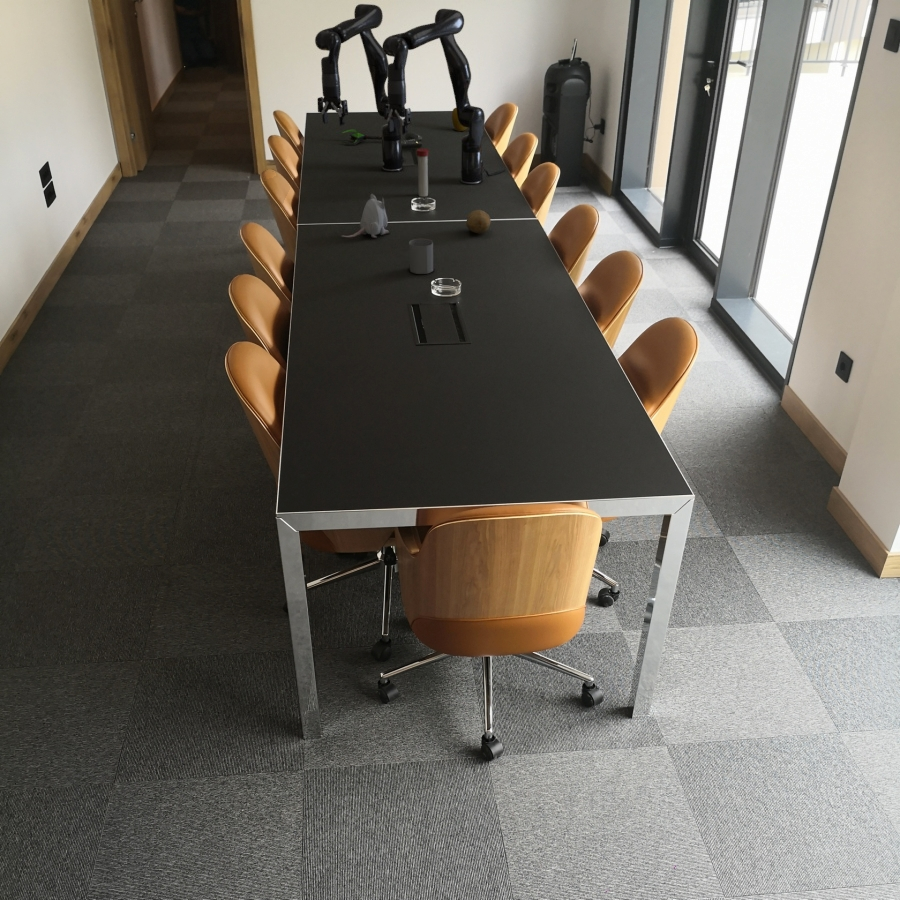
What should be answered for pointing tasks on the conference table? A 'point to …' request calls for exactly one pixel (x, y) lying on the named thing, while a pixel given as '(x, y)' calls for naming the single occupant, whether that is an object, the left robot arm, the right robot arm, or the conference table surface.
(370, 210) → the toy
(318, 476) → the conference table surface
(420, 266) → the cup
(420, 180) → the white tall cylinder
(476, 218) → the potato
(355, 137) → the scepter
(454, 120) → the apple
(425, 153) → the lid
